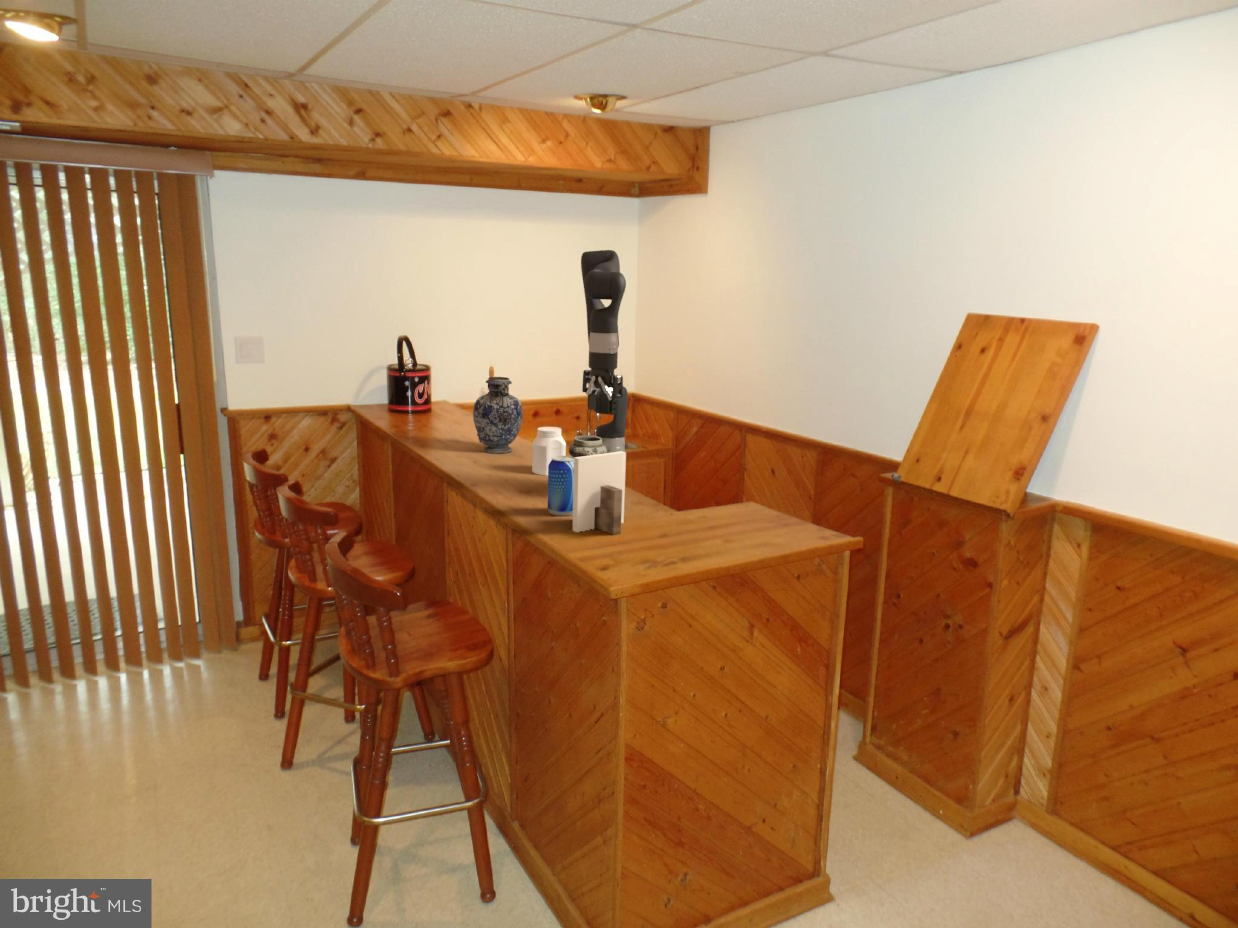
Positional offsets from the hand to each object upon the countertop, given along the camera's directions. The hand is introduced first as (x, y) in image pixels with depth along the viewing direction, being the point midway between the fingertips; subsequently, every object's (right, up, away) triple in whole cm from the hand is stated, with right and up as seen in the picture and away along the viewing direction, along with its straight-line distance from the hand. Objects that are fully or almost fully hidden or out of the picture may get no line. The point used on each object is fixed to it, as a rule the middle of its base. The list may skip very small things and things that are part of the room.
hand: (601, 412), depth 224 cm
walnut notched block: (-1, -31, +7) cm, 32 cm away
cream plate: (-1, -31, +7) cm, 32 cm away
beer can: (-12, -28, +20) cm, 36 cm away
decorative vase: (-41, -9, +99) cm, 108 cm away
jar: (-20, -17, +69) cm, 73 cm away
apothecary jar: (-6, -24, +40) cm, 47 cm away
